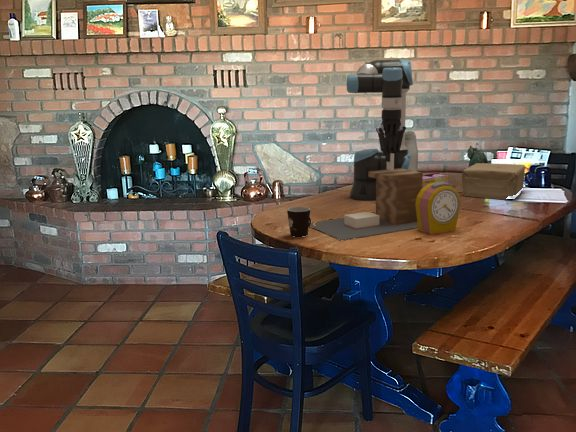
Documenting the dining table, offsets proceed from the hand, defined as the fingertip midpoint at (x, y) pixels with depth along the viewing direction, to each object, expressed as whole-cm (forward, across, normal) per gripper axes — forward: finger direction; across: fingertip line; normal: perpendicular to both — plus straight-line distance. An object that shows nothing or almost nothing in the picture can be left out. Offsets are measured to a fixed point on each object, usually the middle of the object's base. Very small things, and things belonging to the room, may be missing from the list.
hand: (390, 169), depth 224 cm
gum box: (+22, +32, +16) cm, 42 cm away
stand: (+21, +2, 0) cm, 21 cm away
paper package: (+22, +78, +20) cm, 83 cm away
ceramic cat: (+22, +104, +58) cm, 122 cm away
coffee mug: (+21, -42, -2) cm, 47 cm away
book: (+17, -14, -1) cm, 21 cm away
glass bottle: (+22, +66, +73) cm, 101 cm away
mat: (+21, -10, 0) cm, 23 cm away
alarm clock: (+21, +8, -20) cm, 30 cm away
